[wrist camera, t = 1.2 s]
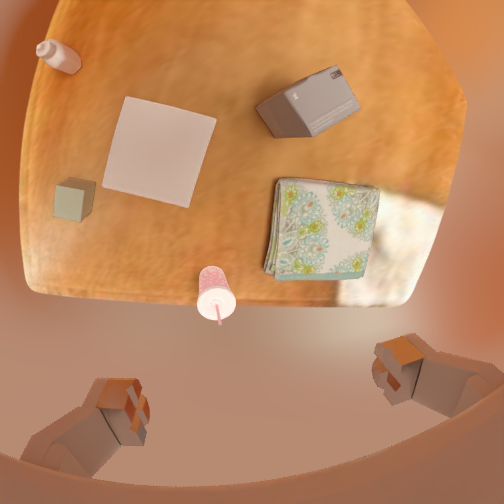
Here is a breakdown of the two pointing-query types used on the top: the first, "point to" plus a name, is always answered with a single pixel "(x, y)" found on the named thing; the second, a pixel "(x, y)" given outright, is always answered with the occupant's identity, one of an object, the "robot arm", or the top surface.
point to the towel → (320, 229)
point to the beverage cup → (214, 295)
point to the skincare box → (309, 105)
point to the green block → (73, 199)
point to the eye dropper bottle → (59, 56)
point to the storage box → (157, 151)
